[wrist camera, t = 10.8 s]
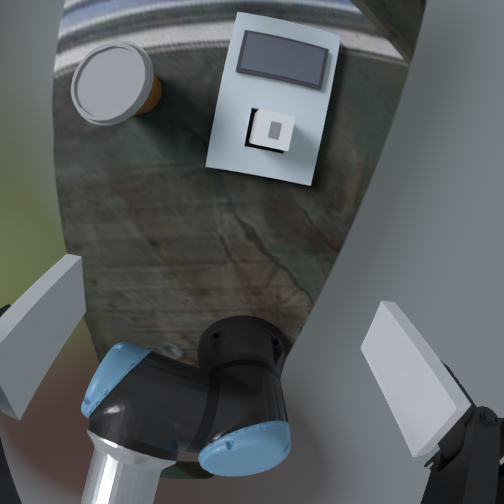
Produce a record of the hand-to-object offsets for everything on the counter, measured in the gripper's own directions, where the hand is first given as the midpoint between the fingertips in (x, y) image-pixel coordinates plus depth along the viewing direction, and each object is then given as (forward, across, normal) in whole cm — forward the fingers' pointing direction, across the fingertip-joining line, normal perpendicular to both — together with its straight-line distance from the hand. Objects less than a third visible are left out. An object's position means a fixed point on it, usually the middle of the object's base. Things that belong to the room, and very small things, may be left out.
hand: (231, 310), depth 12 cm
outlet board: (+31, -3, -13) cm, 33 cm away
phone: (+29, -3, -18) cm, 34 cm away
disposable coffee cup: (+31, +15, -11) cm, 36 cm away
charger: (+31, -3, -8) cm, 32 cm away
